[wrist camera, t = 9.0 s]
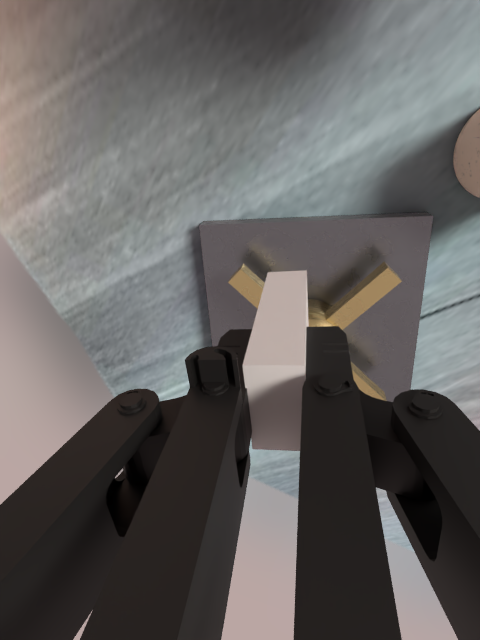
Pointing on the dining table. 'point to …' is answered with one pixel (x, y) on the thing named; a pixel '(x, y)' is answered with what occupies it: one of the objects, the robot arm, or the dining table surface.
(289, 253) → the stand
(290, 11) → the dining table surface
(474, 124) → the teacup with lid
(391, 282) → the capstan
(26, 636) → the robot arm
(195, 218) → the dining table surface
